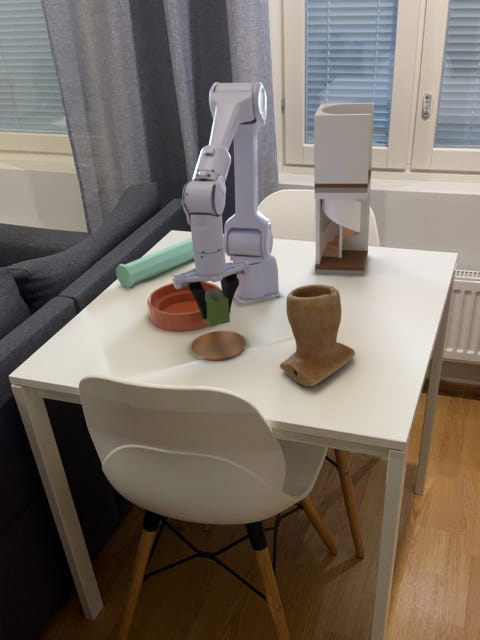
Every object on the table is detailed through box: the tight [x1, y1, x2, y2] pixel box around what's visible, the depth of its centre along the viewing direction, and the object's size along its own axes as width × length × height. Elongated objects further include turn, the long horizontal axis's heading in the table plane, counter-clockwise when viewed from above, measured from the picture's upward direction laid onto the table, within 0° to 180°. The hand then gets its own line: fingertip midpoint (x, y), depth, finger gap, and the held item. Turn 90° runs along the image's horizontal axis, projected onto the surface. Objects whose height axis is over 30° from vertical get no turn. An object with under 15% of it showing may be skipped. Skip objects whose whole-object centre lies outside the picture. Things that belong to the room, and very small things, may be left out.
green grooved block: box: [205, 288, 231, 327], centre depth 134 cm, size 4×5×5 cm
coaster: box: [190, 330, 247, 362], centre depth 139 cm, size 11×11×1 cm
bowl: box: [146, 281, 221, 332], centre depth 150 cm, size 16×16×4 cm
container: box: [115, 237, 194, 288], centre depth 170 cm, size 6×6×25 cm
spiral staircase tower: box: [313, 102, 375, 277], centre depth 156 cm, size 11×11×35 cm
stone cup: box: [279, 284, 356, 387], centre depth 126 cm, size 15×12×15 cm
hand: (215, 314), depth 135 cm, fingers closed on green grooved block, 4 cm apart
